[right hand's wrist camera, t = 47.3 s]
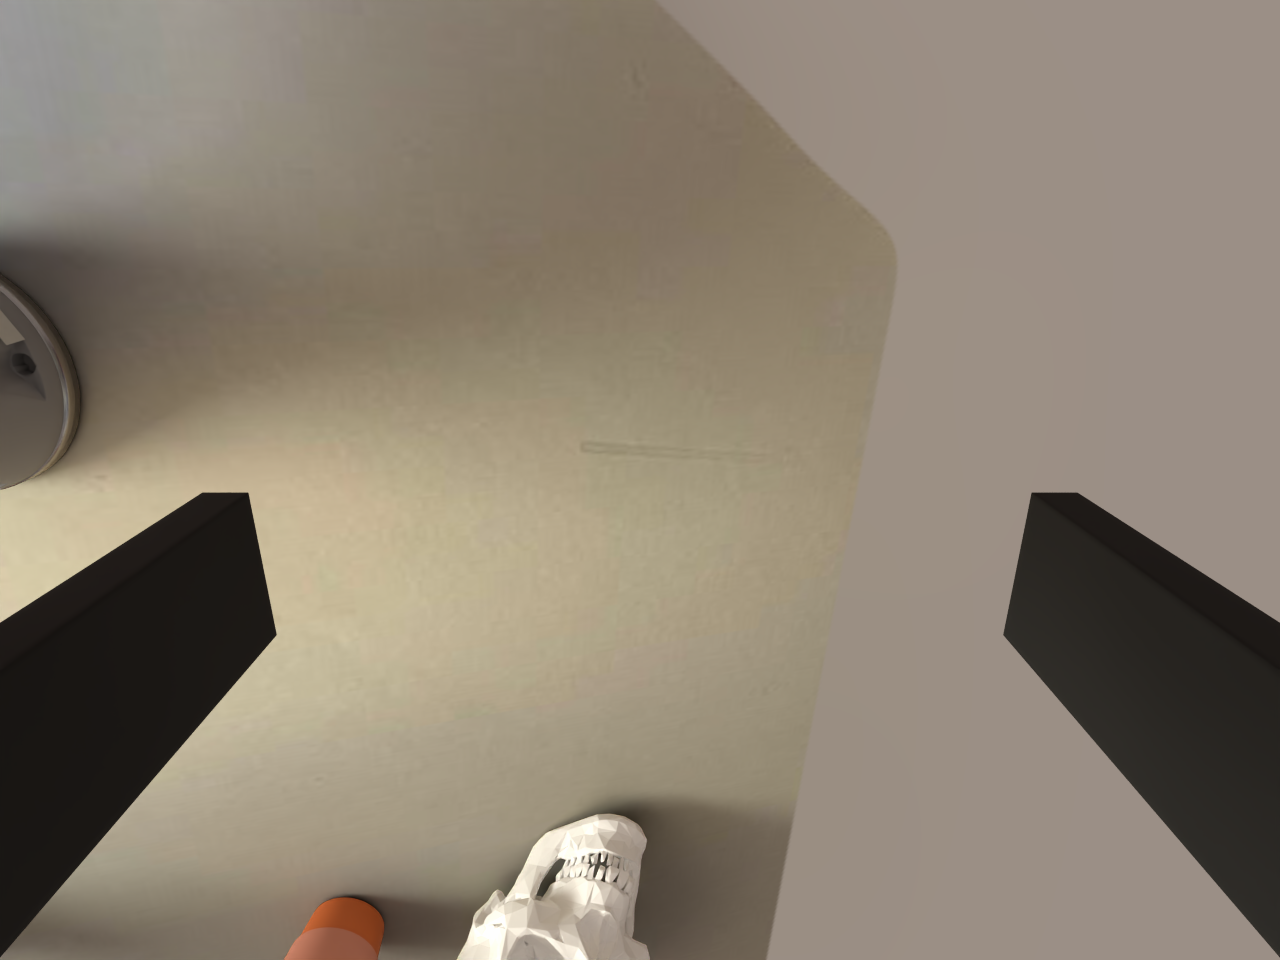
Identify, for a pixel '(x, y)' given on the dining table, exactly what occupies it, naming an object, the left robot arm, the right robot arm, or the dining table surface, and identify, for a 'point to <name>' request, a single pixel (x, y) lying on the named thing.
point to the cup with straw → (340, 932)
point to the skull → (568, 899)
